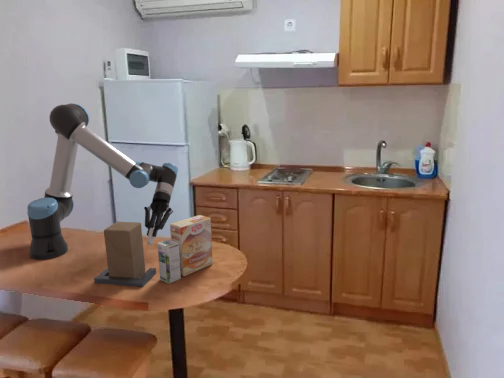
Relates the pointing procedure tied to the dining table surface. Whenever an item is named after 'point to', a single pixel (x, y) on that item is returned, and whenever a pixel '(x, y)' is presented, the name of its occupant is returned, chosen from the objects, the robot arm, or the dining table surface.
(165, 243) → the syrup box
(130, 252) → the wooden block
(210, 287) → the dining table surface
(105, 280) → the dock
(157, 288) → the dining table surface
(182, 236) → the coffeecake box
